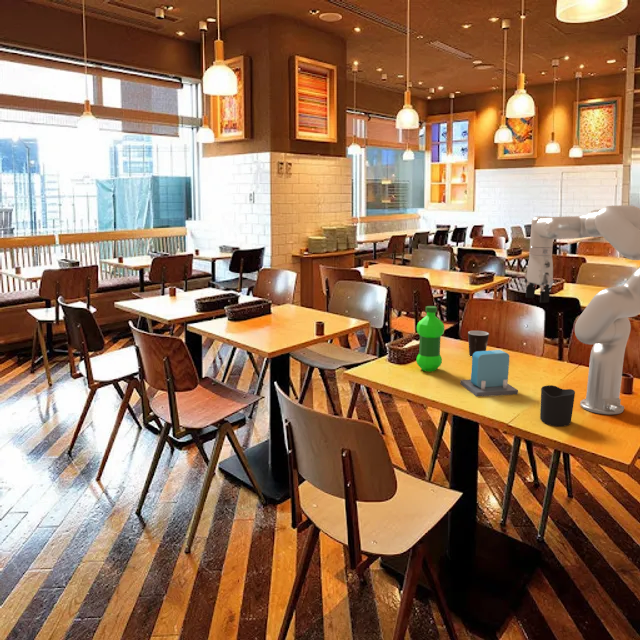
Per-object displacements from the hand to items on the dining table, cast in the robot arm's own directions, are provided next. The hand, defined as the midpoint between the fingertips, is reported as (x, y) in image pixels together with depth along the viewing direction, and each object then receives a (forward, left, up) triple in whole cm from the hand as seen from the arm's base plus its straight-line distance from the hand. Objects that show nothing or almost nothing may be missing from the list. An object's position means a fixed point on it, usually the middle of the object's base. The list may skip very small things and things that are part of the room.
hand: (536, 299), depth 212 cm
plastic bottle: (+20, +32, -31) cm, 49 cm away
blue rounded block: (-6, +19, -29) cm, 35 cm away
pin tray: (-6, +20, -30) cm, 37 cm away
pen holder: (-38, +13, -31) cm, 50 cm away
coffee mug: (+35, +6, -31) cm, 47 cm away
